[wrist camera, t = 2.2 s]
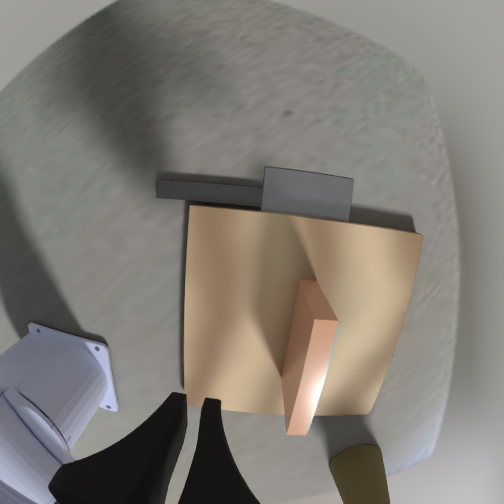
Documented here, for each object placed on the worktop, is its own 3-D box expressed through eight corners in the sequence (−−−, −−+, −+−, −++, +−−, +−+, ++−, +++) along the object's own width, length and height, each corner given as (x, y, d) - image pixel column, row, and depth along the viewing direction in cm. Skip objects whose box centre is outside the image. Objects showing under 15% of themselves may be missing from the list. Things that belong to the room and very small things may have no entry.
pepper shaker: (355, 439, 24) (382, 524, 14) (391, 449, 25) (420, 522, 14) (318, 469, 25) (330, 549, 15) (355, 477, 26) (372, 548, 15)
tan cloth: (187, 395, 23) (184, 403, 22) (193, 204, 20) (190, 205, 18) (365, 405, 23) (369, 414, 22) (416, 232, 20) (423, 235, 18)
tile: (281, 378, 21) (286, 434, 15) (299, 279, 19) (314, 319, 13) (298, 379, 21) (308, 434, 15) (318, 281, 19) (341, 321, 13)
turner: (158, 217, 20) (154, 218, 19) (163, 159, 19) (159, 159, 18) (345, 236, 20) (348, 238, 19) (352, 179, 19) (356, 179, 18)
